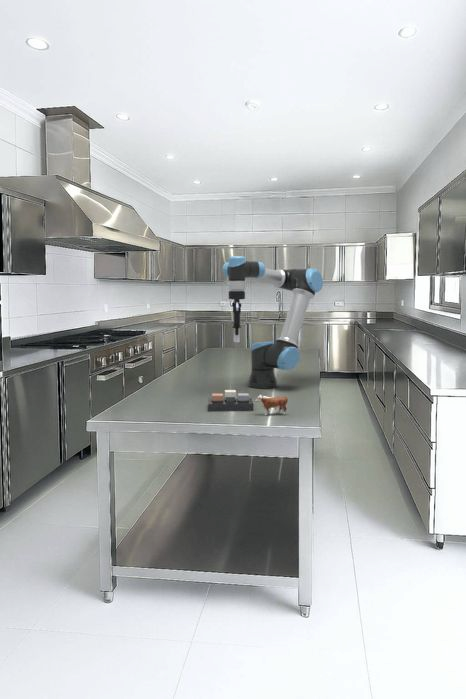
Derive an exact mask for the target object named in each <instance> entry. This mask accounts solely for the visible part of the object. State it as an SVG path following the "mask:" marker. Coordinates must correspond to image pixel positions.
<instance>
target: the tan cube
mask: <svg viewBox="0 0 466 699" xmlns="http://www.w3.org/2000/svg"><path fill="white" fill-rule="evenodd" d="M211 394H212V395H211V398H212V401H213V402H222V401H223V398H224V393H211Z"/></svg>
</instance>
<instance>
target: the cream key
mask: <svg viewBox="0 0 466 699" xmlns="http://www.w3.org/2000/svg"><path fill="white" fill-rule="evenodd" d="M224 397H225V398H226V402H235V398H237V391H236V389H224Z"/></svg>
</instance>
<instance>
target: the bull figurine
mask: <svg viewBox="0 0 466 699" xmlns="http://www.w3.org/2000/svg"><path fill="white" fill-rule="evenodd" d="M254 402H255V403H258V404H260V405H261V407H262V408H263V409H264V410H265V413H264V416H268V414H270V409H274V410H277V409H278V410H277V411H276V414H278V415H279V414H280V413H281V411H283V413H282V415H284V416H285V415H286V412H287V407H286V406H287V404H288V397H286V396H279V397H277V396H276V397H270V396H267V395H262V394H259V395H258V396H257V397H256V399H255V400H254Z"/></svg>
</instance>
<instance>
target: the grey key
mask: <svg viewBox="0 0 466 699" xmlns="http://www.w3.org/2000/svg"><path fill="white" fill-rule="evenodd" d="M237 398H238V401H239V402H248V401H249V398H250V394H249V393H245V392H243V393H240V392H239V393H237Z"/></svg>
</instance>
